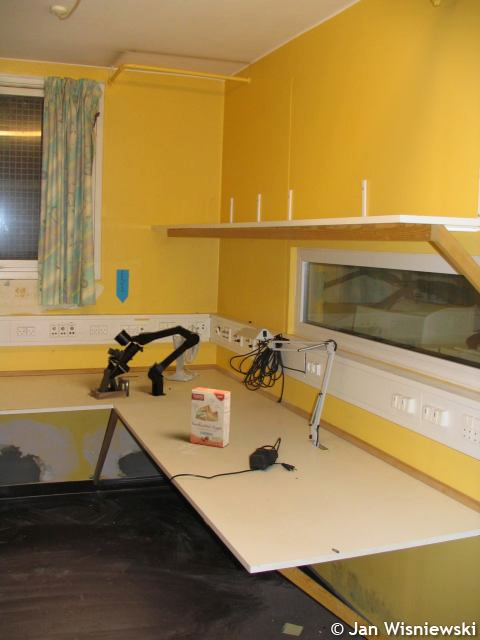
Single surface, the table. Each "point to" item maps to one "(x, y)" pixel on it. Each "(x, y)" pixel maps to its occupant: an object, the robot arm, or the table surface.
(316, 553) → the table surface
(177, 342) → the pale grey desk fan
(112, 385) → the phone stand
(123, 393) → the cradle
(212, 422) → the cracker box
